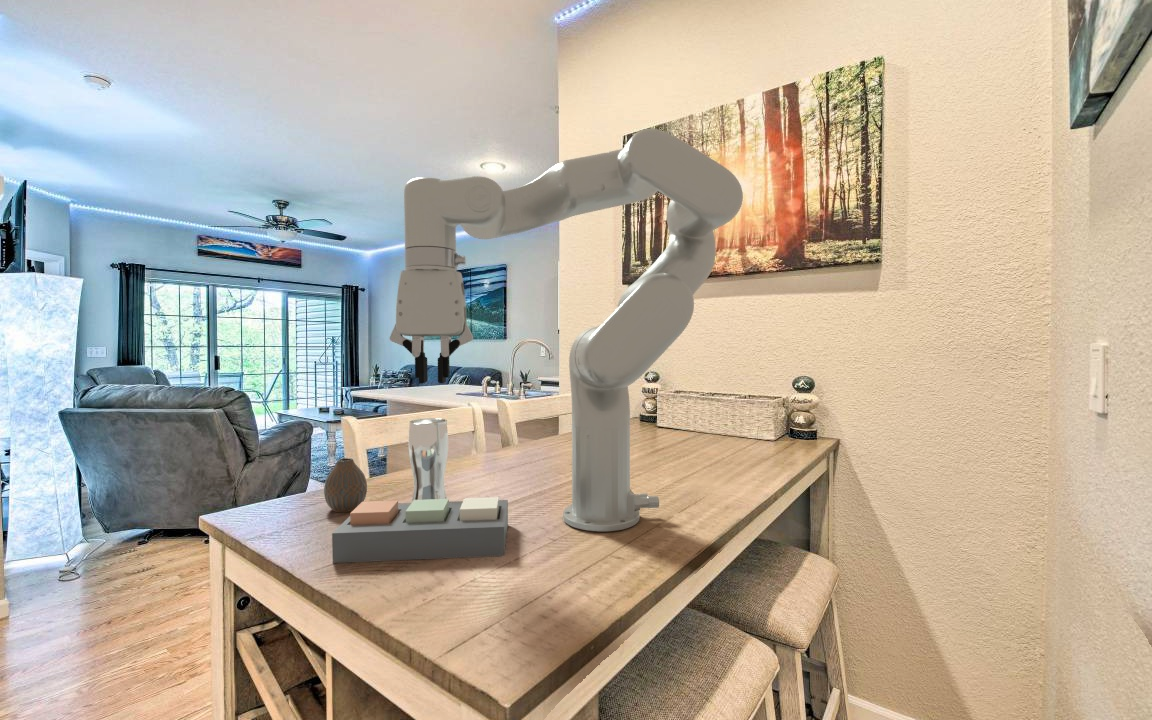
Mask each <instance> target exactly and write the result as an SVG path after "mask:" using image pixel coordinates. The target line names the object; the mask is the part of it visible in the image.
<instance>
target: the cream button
mask: <svg viewBox="0 0 1152 720" xmlns="http://www.w3.org/2000/svg"><path fill="white" fill-rule="evenodd" d="M499 500H500V497H499V496H494V497H493V496H492V497H466V498H463V503H462V505H461V507H460V521H469V520H497V519H499Z"/></svg>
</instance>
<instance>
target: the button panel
mask: <svg viewBox="0 0 1152 720" xmlns="http://www.w3.org/2000/svg"><path fill="white" fill-rule="evenodd" d="M508 502H509V500H508V499H499V519H497V520H469V521H460V507H461V505H462V503H463V501H462V500H457V501H449V515H448V518H447V520H446V521H442V522H414V523H406V513H405V511H406V510H407V509H408V507H409V506H410V504H411V503H412V502H402V503H399V502H398V515H397V516H396V517H395V519H394V520H393V521H392V523H387V524H359V525H350V515H349V516H348V517H347V518H346V519H345V520H344V521H343V522H342V523H341V524H339V526H338V527H337V528H336V529H335V530H334V531H333V532H332V533H331V542H332V543H331V546H332V547H331V548H332V563H333V564H339V563H361V562H362V563H363V562H385V561H390V562H391V561H408V560H409V561H411V560H414V561H415V560H433V559H435V560H436V559H437V560H438V559H455V558H456V559H457V558H461V559H462V558H478V557H481V558H483V557H505V553H506V544H507V538H508V537H507V535H508V527H509V512H508V511H509V503H508Z"/></svg>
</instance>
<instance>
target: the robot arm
mask: <svg viewBox="0 0 1152 720" xmlns="http://www.w3.org/2000/svg"><path fill="white" fill-rule="evenodd" d="M403 191H404V192H403V201H404V202H403V204H404V205H403V206H404V207H403V209H404V210H403V211H404V213H403V214H404V249H405V250H404V265H405V266H404V267H405V268H404V270H401V271H400V275H399V280H398V286H397V295H396V309H395V324H394V326H393V329H392V331H391V333H390V336H389V340H390V342H393V343H395V344H397V345H399V346H401V347H404V348H405V349H406V350H407V351H408V352H409V353H410V354H411V355H412V357H413V358H414V375H415V378H416V379H418V384H421V385H422V384H425V383H427V382H428V375H429V374H428V357H426V353H425V351H424V350H425V337H440V338H439V339H440V353H439V357H437V382H438V384H445V383H446V382H447V378H450V375H451V374H450V357H451V356H452V355H453V354H454V353H455V351H456V350H457V349H458V348H459V347H461V346H464V345H465V344H467V343H470V342H472V341H474V336H473V333H472V332H471V329H470V326H469V325H468V323H467V305H466V304H467V303H466V292H465V286H464V280H463V279H464V278H463V275H462V272H460V271H457V270H458V268H459V266H463V265H466V261H467V259H466V256H465V255H461V254H458V253H457V245H456V244H457V242H456V241H457V240H456V239H457V231H456V230H457V229H456V227H457V226H459V225H460V226H461V228H462V229H463V231H464V232H465V233H466V234H468V236H470V237H471V238H472V237H473V238H474V239H477V240H492V239H497V238H502V237H508V236H511V235H517V234H520V233H523V232H529V231H532V230H534V229H537V228H542V227H544V226H548V225H551V224H554V223H557V222H561V221H564V220H566V219H569V218H572V217H575V216H579V215H585V214H588V213H592V212H597V211H602V210H605V209H610V208H616V207H620V206H625V205H629V204H634V203H637V202H641V201H645V200H647V199H649V198H650V197H653V196H654V195H655V194H656V193H657V192H659V193H660V194H662V195H663V196H664V197H666V198H668V199H669V200H670V202H669V204H668V206H667V211H666V222H667V227H668V235H669V237H668V238H669V239H668V244H667V246H666V248H665V249H664V250H663V252H662V253H661V254H660V255H659V257H657V259H656V260H655V261H654V262H653V263H652V264H651V265H650V266H649V267H648V268H647V269H646V270H645V271H644V272H643V273H642V275H640V277H638V279H636V280H635V281H634V282H632V284H630V285H629V287H627V288H626V289H625V290H624V292H623V293H622V294H621V296H620V299H619V300H618V303H617V307H616V309H615V310H614V311H613V312H612V313H611V314H610V316H608V318H606V319H605V320H604V322H602V324H600V325H599V326H594V327H593V326H592V327H591V328H587V329H586V330H584V331H582V332H581V333H580V334H579V335H578V336H577V337H576V339H575V340H574V341H573V343H572V345H571V347H570V352H569V358H568V363H569V364H568V366H569V367H568V368H569V379H570V380H569V381H570V391H571V392H570V393H571V394H570V395H571V396H570V397H571V483H572V484H571V492H572V493H571V504H570V505H567V506H566V507H565V508H564V509H563V511H562V520H563V521H564V523H565V524H567V525H569V526H570V527H572V528H575V529H578V530H582V531H589V532H597V533H598V532H599V533H600V532H604V533H605V532H615V531H622V530H627V529H629V528H631V527H633V526H635V525H637V524H638V522H639V521H640V511H641V509H643V508H644V509H646V508H648V509H659V508H660V498H659V496H658V495H648V493H636V494H635V493H634V492H633V491H632V489H631V460H630V459H631V457H630V456H631V443H630V442H631V427H630V426H631V406H630V405H631V404H630V393H629V386H630V385H632V384H634V383H635V382H636V381H637V380H639V379H640V378H641V377H642V376H644V374H645V373H646V372H647V371H648V370H649V369H650V368H651V367H652V366H653V365H654V364H655V362H657V360H658V359H659V358H660V357H661V356H662V355H663V354H664V353H665V352H666V351H667V350H668V349H669V347H671V346H672V344H673V343H674V342H675V341H676V340H677V339H678V338H679V337H680V336H681V335H682V333H683V332H684V331H685V329H686V328H687V327H688V325H689V323H690V321H691V319H692V316H693V313H694V309H695V300H694V295H695V294H696V292H697V291H698V290H699V289H700V288H701V286H702V285H703V284H704V283H705V282H706V280H708V277H709V276H710V274H711V273H712V271H713V269H714V265H715V261H716V240H715V233H714V231H715V230H717V229H718V228H720V227H723V226H724V225H726V224H728V223H729V222H731V221H732V220H733V219H734V218H735V217H736V216H737V214H738V213H739V211H740V209H741V207H742V205H743V199H744V193H743V189H742V185H741V183H740V181H739V179H738V178H737V177H736V175H735V174H733V172H731V171H730V170H729V169H728V168H726V166H723V165H722V164H721V163H719V162H718V161H716V160H714V158H713V159H712V158H711V157H709V156H708V155H707V154H704V153H703V152H702V151H700V150H698V148H695V147H693V146H692V145H690V144H689V143H687V142H685V141H684V140H682V139H680V138H679V137H677V136H674V135H672V134H671V133H668V132H666V131H664V130H660V129H656V128H646V129H641V130H639V131H637V132H636V133H634V134H633V135H632V136H631V137H630V138H629V140H628V141H627V143H625V145H624V147H623V148H621V149H616V150H615V149H614V150H610V151H606V152H602V153H596V154H592V155H587V156H581V157H576V158H570V159H565V160H563V161H560V162H559V163H556V164H555V165H553V166H551V167H550V168H549V169H548V170H546V171H545V172H543V173H542V174H541V175H540V176H538V177H537V178H535V179H534V180H532V181H530V182H528V183H526V184H524V185H521V186H518V187H514V188H511V189H508V190H503V189H502V187H501V185H499V183H497V182H496V181H495V180H493V179H491V178H489V177H486V176H479V175H478V176H467V177H460V178H459V177H458V178H451V179H440V178H437V177H430V176H429V177H427V176H426V177H425V176H424V177H423V176H422V177H415V178H411V179H410V180H408V181H407V182H406V184H405V185H404V190H403ZM405 336H406V337H411V339H410V338H406V337H405ZM452 337H457V338H454V339H452Z"/></svg>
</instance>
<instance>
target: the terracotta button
mask: <svg viewBox="0 0 1152 720" xmlns="http://www.w3.org/2000/svg"><path fill="white" fill-rule="evenodd" d="M398 503H399V500H374V501H372V500H370V501H365V500H364V501H363V502H361V503H360V504H359V505H358V506H357V507H356V508H355V509H354V510H353V511H350V515H349V516H350V525H359V524H387V523H392V521H393V520H394V519H395V517H396V516H397V515H398Z"/></svg>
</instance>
